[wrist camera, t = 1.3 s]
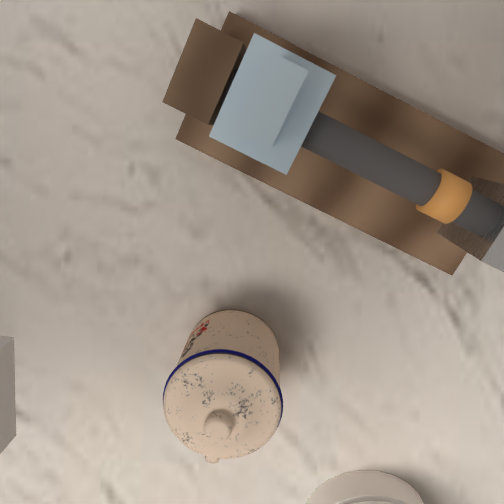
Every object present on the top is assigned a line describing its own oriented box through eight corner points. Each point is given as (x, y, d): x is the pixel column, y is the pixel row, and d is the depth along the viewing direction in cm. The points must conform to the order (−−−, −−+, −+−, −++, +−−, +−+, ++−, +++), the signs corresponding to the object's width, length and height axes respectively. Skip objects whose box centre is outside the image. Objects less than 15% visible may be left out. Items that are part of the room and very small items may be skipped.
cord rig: (180, 138, 37) (146, 140, 27) (231, 18, 34) (214, -27, 25) (443, 268, 38) (499, 313, 29) (510, 162, 36) (596, 173, 26)
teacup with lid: (192, 297, 40) (160, 360, 29) (290, 316, 40) (296, 387, 29) (174, 409, 44) (139, 505, 32) (265, 427, 44) (261, 529, 32)
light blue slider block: (220, 135, 31) (196, 137, 22) (258, 50, 29) (250, 13, 20) (284, 167, 31) (288, 182, 22) (325, 85, 30) (347, 64, 20)
